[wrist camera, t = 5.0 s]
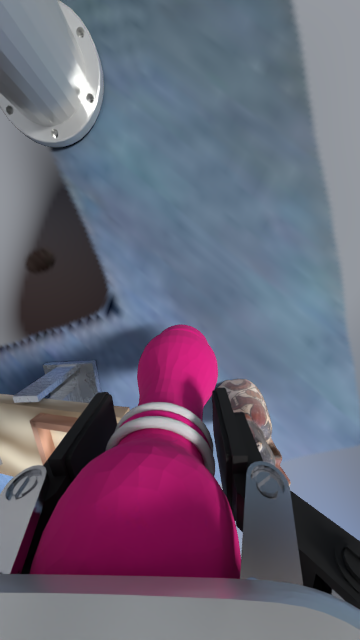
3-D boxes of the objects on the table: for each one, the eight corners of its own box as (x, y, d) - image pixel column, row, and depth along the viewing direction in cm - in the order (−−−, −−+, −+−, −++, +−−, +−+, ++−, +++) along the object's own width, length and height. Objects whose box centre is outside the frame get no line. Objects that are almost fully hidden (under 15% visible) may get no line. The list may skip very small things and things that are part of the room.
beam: (-33, 390, 26) (-83, 413, 21) (129, 407, 20) (103, 443, 15) (-7, 458, 28) (-48, 491, 24) (142, 492, 22) (123, 543, 18)
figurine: (234, 369, 28) (266, 435, 16) (269, 394, 29) (324, 475, 17) (205, 400, 29) (215, 482, 18) (239, 424, 30) (270, 517, 18)
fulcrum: (47, 362, 29) (-9, 395, 21) (95, 360, 29) (57, 393, 21) (67, 439, 33) (25, 494, 24) (110, 438, 32) (82, 494, 24)
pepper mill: (193, 388, 22) (169, 1175, 3) (140, 359, 22) (-294, 1006, 2) (225, 340, 20) (793, 1566, 1) (169, 308, 20) (-550, 1134, 1)
